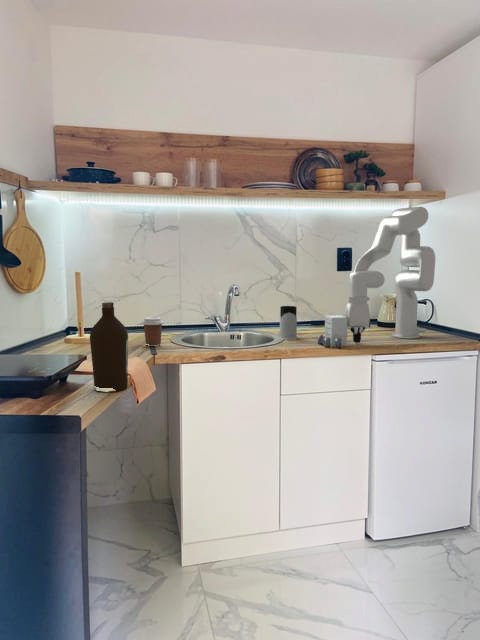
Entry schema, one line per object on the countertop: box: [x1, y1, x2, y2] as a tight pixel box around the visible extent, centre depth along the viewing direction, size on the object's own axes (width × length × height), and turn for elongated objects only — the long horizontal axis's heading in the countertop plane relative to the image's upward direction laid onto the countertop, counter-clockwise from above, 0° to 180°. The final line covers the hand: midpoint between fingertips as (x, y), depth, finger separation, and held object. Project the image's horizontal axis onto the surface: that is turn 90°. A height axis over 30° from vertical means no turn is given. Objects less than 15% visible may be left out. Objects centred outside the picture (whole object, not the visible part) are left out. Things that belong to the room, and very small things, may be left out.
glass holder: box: [279, 305, 298, 341], centre depth 221 cm, size 9×14×15 cm, turn 179°
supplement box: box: [324, 314, 348, 348], centre depth 201 cm, size 7×7×13 cm
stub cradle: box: [317, 333, 342, 350], centre depth 201 cm, size 6×15×4 cm, turn 13°
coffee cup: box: [141, 316, 164, 347], centre depth 202 cm, size 9×9×12 cm
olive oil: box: [89, 301, 129, 393], centre depth 134 cm, size 11×11×25 cm
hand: (356, 342), depth 204 cm, fingers closed
